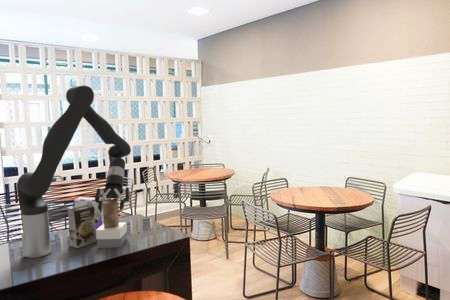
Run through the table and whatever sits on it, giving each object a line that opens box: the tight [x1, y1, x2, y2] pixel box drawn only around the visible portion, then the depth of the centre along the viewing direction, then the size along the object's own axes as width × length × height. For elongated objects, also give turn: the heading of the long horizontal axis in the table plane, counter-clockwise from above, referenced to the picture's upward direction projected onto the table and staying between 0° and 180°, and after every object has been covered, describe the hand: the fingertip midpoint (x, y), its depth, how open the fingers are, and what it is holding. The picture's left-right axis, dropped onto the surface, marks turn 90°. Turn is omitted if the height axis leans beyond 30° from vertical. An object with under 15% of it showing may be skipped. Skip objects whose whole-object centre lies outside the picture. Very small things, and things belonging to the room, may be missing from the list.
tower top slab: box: [96, 222, 128, 240], centre depth 154 cm, size 10×10×4 cm
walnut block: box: [103, 199, 120, 228], centre depth 153 cm, size 5×5×11 cm
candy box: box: [73, 196, 104, 231], centre depth 169 cm, size 14×6×16 cm, turn 81°
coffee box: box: [67, 205, 97, 249], centre depth 153 cm, size 9×6×16 cm
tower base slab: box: [96, 232, 127, 249], centre depth 154 cm, size 10×10×4 cm
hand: (110, 209), depth 151 cm, fingers open, 8 cm apart
